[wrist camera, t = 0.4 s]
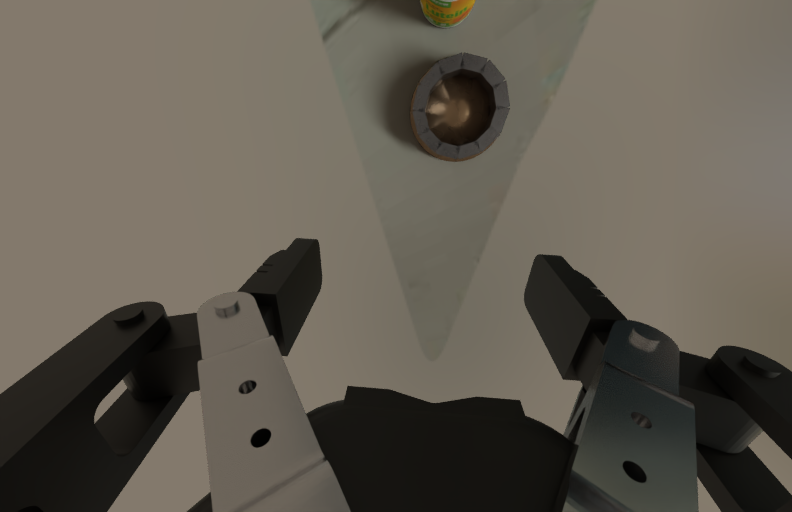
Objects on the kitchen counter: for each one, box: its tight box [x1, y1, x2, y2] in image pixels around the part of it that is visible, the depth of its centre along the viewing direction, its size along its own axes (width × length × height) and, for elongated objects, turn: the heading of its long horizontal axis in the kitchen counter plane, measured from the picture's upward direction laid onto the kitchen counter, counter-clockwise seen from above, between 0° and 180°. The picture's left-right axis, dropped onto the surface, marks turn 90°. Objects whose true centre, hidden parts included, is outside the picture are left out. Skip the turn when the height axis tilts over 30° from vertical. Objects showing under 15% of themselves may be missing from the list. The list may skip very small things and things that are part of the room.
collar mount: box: [410, 53, 510, 162], centre depth 30 cm, size 10×10×4 cm
